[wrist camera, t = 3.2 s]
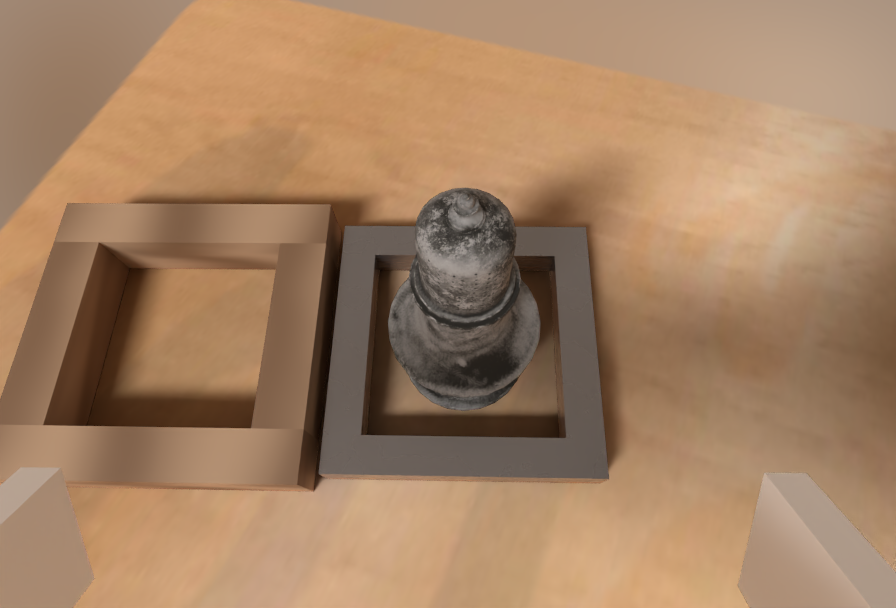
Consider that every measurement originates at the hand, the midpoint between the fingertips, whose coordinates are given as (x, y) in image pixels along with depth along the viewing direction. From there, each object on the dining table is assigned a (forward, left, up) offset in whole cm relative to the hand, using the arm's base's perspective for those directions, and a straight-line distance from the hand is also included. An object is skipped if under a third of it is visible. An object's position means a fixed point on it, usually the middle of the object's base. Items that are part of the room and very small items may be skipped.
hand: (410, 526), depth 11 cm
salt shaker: (-1, -8, -12) cm, 15 cm away
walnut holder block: (+11, -8, -12) cm, 18 cm away
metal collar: (-1, -8, -12) cm, 14 cm away
